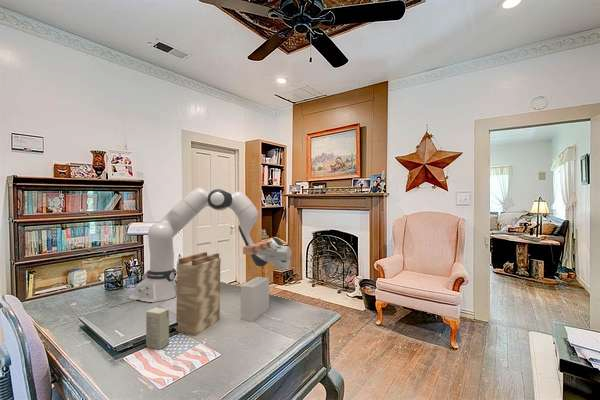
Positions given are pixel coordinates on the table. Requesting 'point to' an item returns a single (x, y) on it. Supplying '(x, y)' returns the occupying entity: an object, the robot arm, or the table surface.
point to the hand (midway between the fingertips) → (264, 244)
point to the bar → (256, 247)
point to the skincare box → (157, 328)
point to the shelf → (254, 298)
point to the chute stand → (198, 292)
